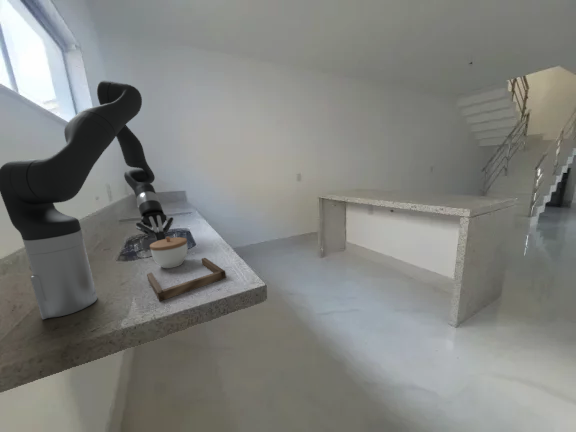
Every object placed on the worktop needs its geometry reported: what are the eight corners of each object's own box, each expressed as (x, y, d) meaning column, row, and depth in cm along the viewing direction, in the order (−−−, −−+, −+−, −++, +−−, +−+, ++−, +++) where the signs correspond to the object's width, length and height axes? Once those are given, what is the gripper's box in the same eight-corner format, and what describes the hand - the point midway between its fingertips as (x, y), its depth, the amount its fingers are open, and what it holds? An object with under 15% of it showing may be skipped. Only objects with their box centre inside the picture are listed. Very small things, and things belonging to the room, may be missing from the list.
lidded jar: (195, 258, 82) (192, 232, 80) (178, 271, 71) (173, 241, 70) (166, 259, 83) (162, 233, 81) (146, 271, 73) (140, 242, 71)
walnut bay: (159, 301, 54) (157, 293, 54) (148, 280, 66) (146, 273, 66) (226, 277, 64) (225, 271, 64) (205, 263, 76) (205, 257, 76)
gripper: (129, 201, 85) (140, 240, 78) (168, 197, 93) (182, 232, 86) (130, 214, 90) (140, 252, 83) (167, 209, 99) (180, 243, 91)
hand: (161, 242), depth 85 cm, fingers closed
